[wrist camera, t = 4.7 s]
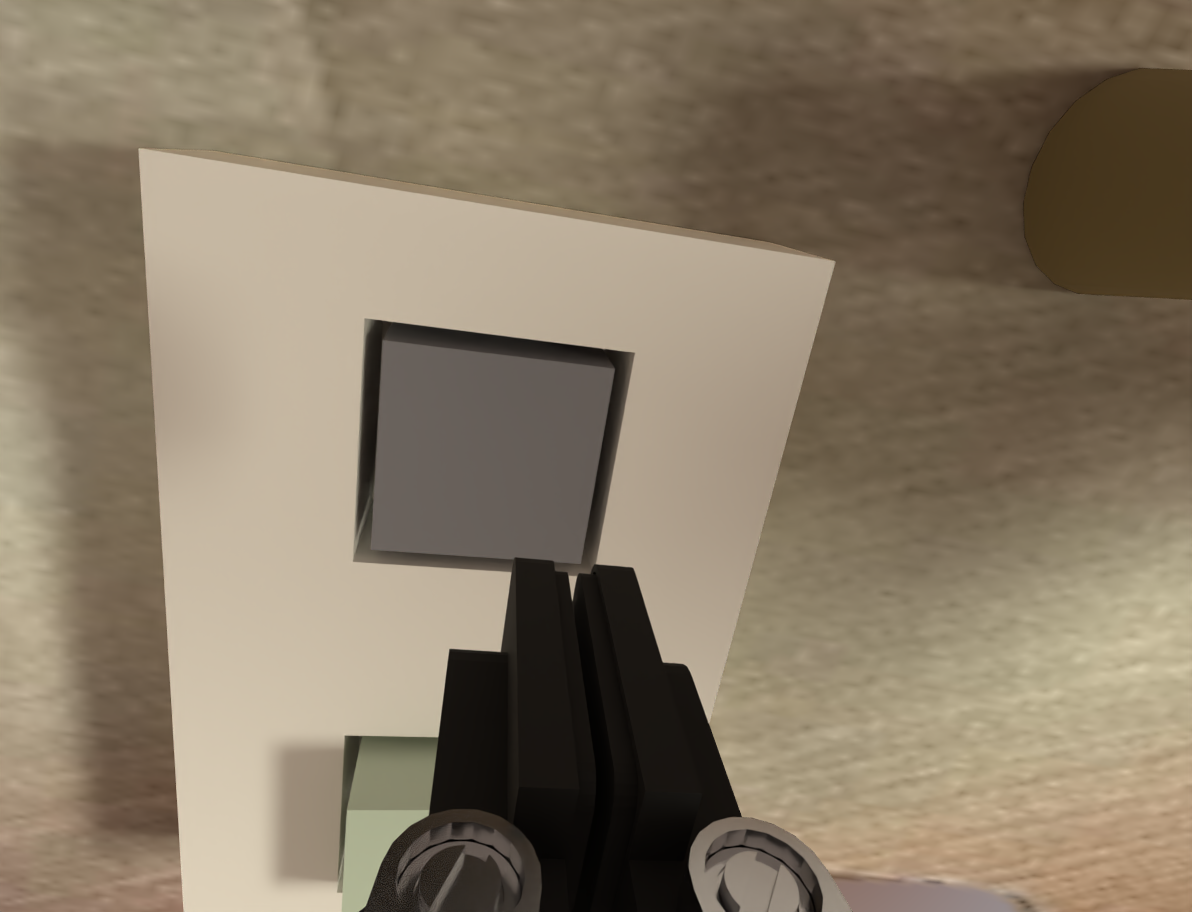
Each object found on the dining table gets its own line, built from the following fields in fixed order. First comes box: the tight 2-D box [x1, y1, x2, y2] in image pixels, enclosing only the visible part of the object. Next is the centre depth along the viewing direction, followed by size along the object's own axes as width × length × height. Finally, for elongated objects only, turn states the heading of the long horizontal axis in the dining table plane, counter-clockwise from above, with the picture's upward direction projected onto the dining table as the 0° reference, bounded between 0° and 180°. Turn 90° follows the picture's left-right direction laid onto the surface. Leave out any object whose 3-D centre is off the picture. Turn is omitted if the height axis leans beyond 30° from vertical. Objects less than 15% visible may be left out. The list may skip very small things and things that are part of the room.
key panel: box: [138, 148, 836, 912], centre depth 20 cm, size 14×22×4 cm, turn 171°
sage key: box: [342, 736, 438, 912], centre depth 20 cm, size 5×5×3 cm
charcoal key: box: [371, 322, 615, 564], centre depth 18 cm, size 5×5×3 cm
